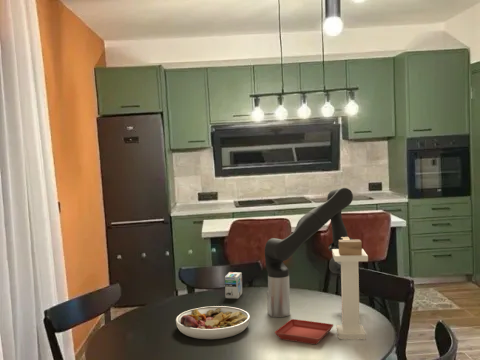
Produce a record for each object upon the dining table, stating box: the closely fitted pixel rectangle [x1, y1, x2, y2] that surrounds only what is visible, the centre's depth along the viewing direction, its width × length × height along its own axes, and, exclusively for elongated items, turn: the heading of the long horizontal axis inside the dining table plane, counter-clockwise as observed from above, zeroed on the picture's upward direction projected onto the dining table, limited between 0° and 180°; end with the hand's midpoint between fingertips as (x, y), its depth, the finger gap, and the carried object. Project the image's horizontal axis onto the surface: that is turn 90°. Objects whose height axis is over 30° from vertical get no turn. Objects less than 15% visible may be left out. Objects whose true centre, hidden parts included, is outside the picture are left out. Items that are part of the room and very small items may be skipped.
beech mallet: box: [339, 236, 363, 255], centre depth 204 cm, size 23×8×5 cm, turn 174°
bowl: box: [175, 305, 251, 340], centre depth 212 cm, size 30×30×8 cm
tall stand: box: [331, 248, 369, 340], centre depth 199 cm, size 14×12×32 cm
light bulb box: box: [224, 271, 243, 299], centre depth 259 cm, size 11×7×11 cm, turn 168°
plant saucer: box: [274, 318, 334, 345], centre depth 201 cm, size 18×18×3 cm
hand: (346, 240), depth 209 cm, fingers closed on beech mallet, 3 cm apart
